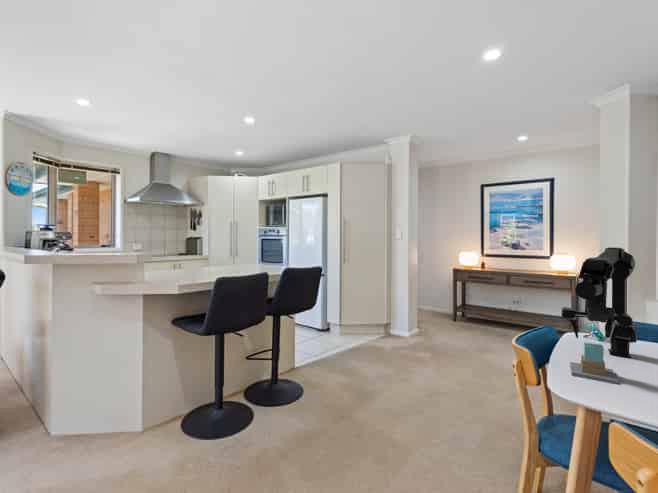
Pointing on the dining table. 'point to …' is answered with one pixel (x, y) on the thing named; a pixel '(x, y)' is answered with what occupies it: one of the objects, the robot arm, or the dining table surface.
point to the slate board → (578, 372)
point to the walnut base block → (592, 367)
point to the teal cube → (593, 352)
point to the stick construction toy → (595, 333)
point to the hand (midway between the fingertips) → (593, 340)
